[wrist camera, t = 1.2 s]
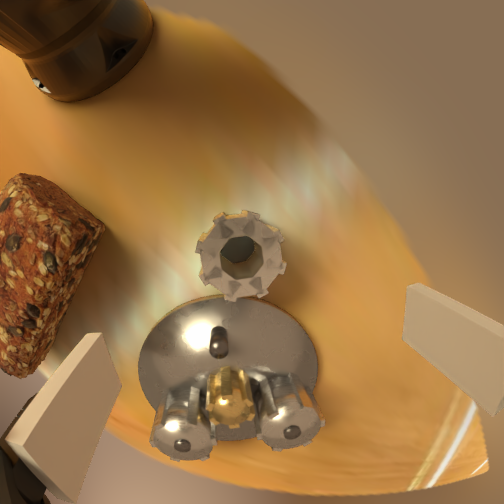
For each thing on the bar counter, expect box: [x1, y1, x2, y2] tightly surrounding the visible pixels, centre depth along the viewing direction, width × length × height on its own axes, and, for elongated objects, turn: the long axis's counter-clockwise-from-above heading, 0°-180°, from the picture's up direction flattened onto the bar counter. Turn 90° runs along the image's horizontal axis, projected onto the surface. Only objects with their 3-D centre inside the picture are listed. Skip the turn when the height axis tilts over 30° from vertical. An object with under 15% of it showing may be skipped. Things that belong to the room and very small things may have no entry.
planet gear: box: [195, 210, 287, 302], centre depth 24 cm, size 7×7×6 cm
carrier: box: [138, 294, 325, 462], centre depth 25 cm, size 20×20×8 cm
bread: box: [0, 173, 105, 379], centre depth 20 cm, size 19×11×10 cm, turn 143°
